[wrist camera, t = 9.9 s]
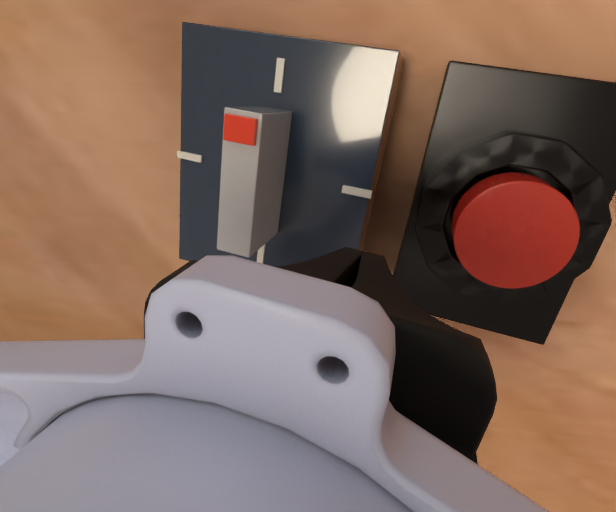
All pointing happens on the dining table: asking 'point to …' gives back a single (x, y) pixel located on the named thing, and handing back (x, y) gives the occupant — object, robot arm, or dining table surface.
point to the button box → (500, 159)
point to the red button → (514, 230)
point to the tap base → (302, 140)
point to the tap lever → (251, 177)
